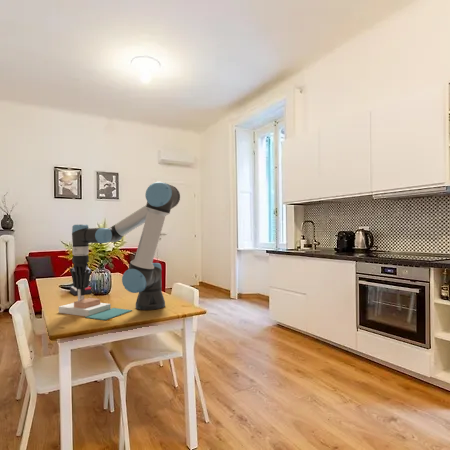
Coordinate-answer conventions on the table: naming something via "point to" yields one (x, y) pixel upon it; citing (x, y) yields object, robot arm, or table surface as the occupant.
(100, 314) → the mat
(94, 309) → the panel
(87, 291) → the calculator
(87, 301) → the tile
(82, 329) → the table surface
